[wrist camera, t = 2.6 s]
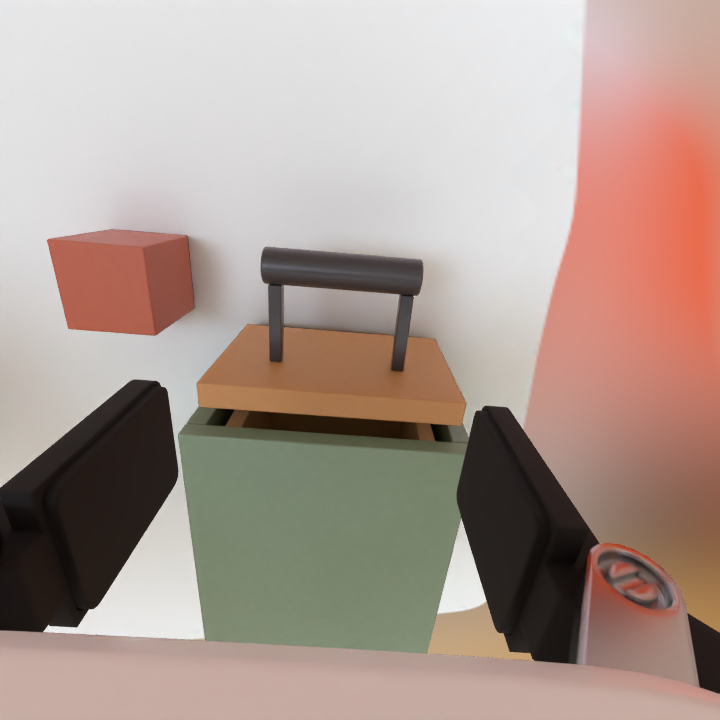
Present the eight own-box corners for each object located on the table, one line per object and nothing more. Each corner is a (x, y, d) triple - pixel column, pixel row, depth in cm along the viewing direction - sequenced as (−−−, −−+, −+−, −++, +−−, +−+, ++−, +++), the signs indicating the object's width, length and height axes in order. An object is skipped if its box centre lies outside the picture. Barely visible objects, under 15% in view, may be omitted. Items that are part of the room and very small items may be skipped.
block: (111, 229, 22) (46, 239, 18) (187, 235, 22) (143, 247, 18) (123, 302, 24) (67, 329, 19) (195, 308, 24) (155, 336, 20)
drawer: (243, 231, 21) (182, 252, 14) (450, 248, 22) (494, 278, 14) (253, 494, 29) (217, 596, 22) (406, 505, 29) (421, 608, 22)
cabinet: (243, 347, 25) (176, 434, 16) (436, 362, 25) (477, 455, 17) (250, 516, 31) (205, 648, 22) (407, 526, 31) (425, 660, 22)
